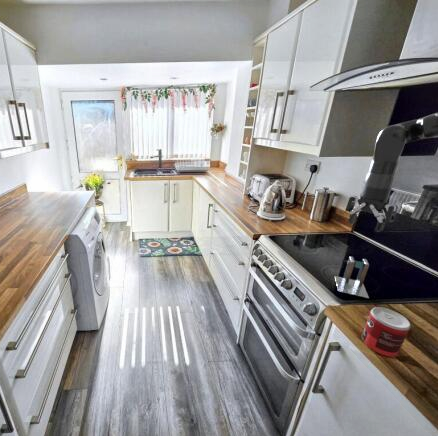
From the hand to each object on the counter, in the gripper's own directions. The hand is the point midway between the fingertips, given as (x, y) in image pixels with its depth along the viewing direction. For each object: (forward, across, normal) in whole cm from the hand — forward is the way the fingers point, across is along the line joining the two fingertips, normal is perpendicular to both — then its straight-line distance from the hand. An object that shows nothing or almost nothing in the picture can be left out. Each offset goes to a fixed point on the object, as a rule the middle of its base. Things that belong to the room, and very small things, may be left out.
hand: (364, 227), depth 90 cm
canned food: (+24, -25, +25) cm, 43 cm away
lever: (+16, -2, +2) cm, 16 cm away
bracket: (+24, -4, +5) cm, 25 cm away
